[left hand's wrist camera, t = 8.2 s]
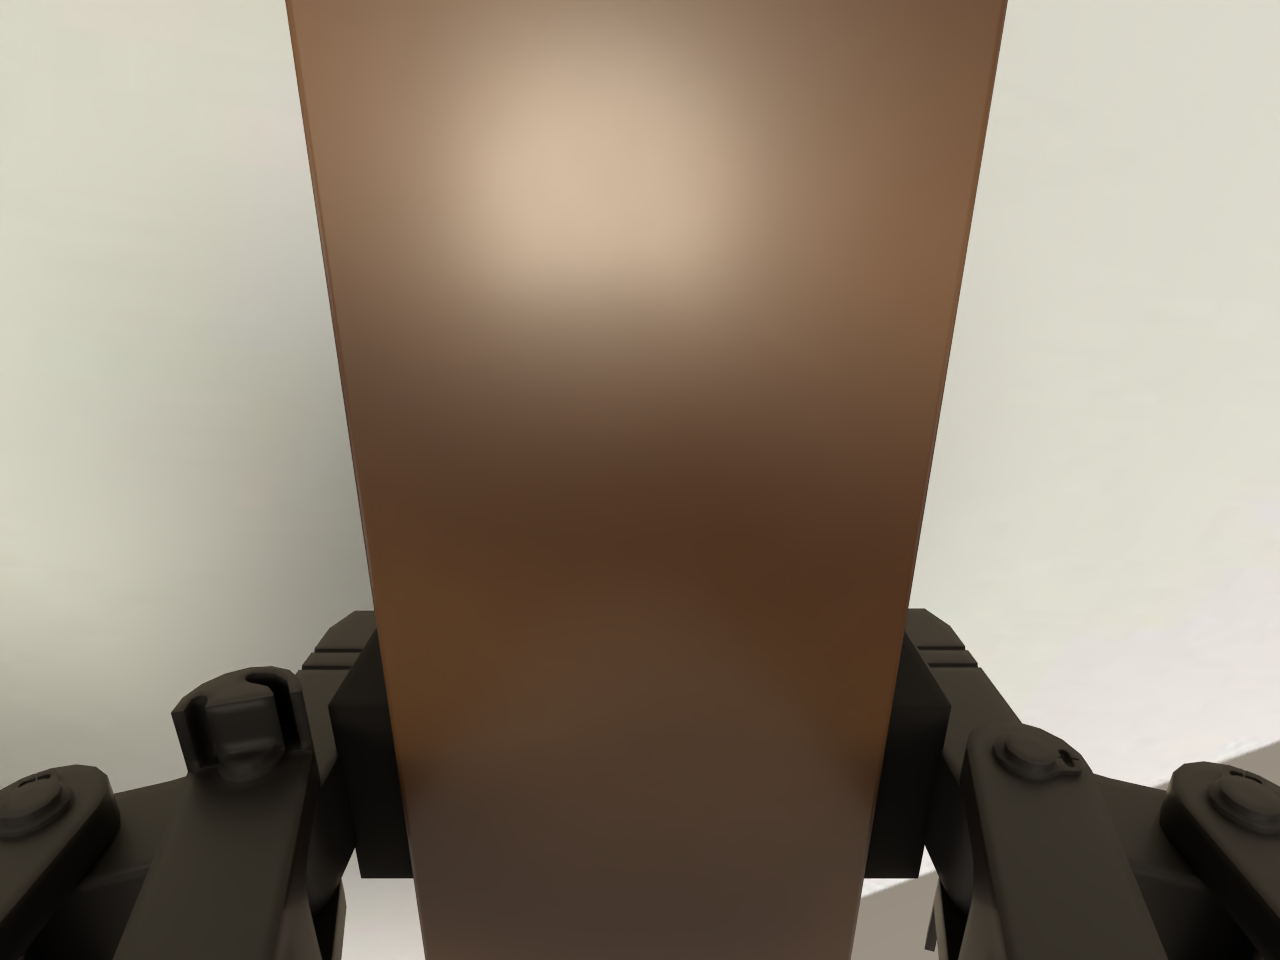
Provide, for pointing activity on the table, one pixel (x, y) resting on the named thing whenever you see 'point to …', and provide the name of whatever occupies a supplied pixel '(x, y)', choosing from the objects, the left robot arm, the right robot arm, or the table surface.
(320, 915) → the left robot arm
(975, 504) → the table surface
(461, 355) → the beam
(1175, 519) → the table surface
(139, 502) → the table surface
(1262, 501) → the table surface
